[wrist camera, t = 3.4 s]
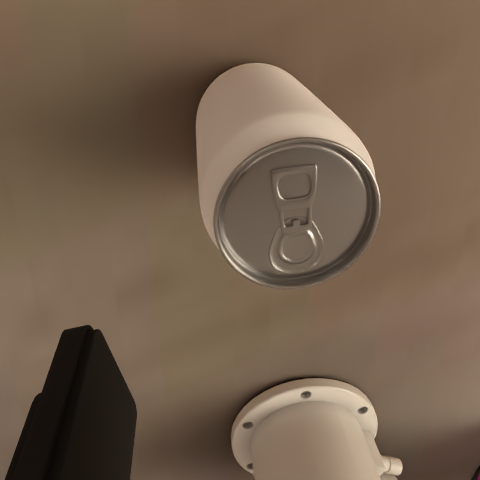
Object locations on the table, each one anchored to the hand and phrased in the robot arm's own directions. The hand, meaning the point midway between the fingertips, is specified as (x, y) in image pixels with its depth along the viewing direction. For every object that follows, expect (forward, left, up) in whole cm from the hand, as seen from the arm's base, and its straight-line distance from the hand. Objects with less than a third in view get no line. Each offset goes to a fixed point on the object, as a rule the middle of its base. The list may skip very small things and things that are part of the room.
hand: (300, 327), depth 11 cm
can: (-1, -1, -17) cm, 17 cm away
